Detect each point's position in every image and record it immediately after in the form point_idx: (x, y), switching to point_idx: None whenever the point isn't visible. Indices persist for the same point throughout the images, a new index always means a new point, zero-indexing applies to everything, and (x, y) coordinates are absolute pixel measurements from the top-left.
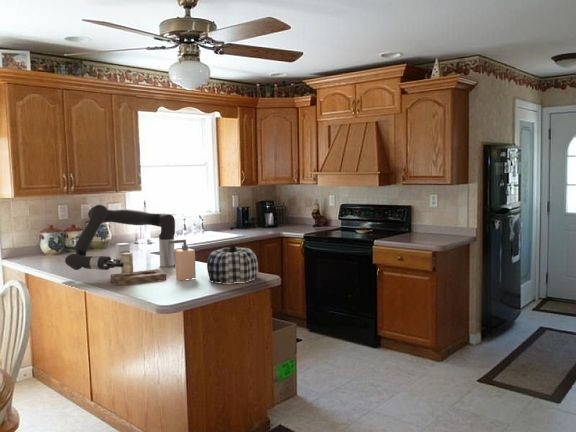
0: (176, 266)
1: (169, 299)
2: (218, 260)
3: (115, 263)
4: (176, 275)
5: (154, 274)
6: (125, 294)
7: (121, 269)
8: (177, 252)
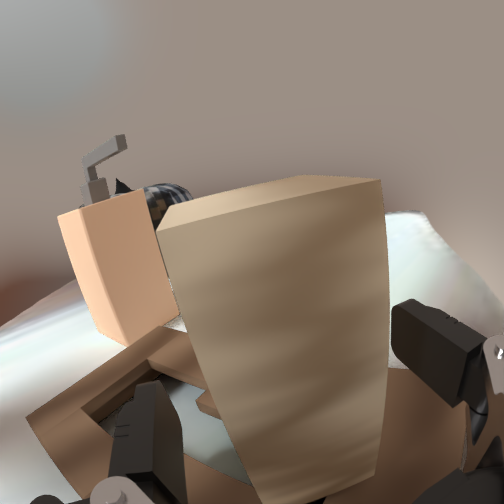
0: (118, 287)
1: (386, 225)
2: (184, 195)
3: (498, 344)
4: (131, 330)
5: (191, 347)
6: (470, 273)
7: (379, 441)
8: (114, 207)
